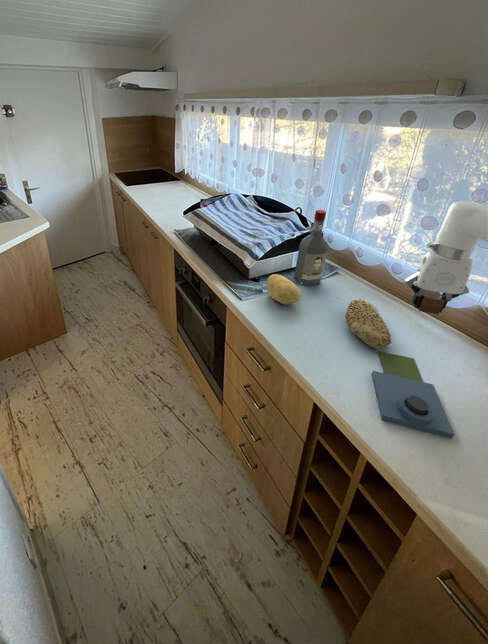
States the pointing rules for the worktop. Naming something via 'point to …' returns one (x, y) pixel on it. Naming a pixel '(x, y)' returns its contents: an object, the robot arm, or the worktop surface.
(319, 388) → the worktop surface
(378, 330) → the sponge
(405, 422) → the box
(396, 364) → the pad
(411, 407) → the button
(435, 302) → the block
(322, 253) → the liquor
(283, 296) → the potato
